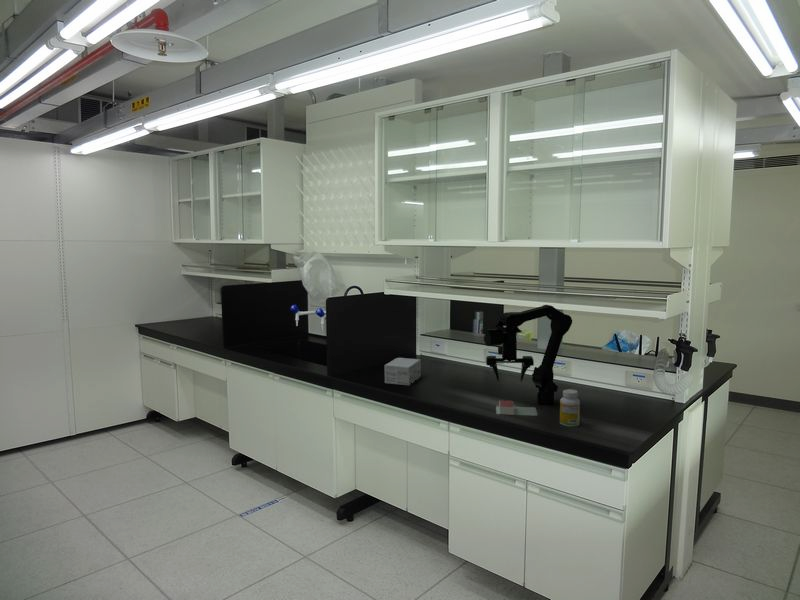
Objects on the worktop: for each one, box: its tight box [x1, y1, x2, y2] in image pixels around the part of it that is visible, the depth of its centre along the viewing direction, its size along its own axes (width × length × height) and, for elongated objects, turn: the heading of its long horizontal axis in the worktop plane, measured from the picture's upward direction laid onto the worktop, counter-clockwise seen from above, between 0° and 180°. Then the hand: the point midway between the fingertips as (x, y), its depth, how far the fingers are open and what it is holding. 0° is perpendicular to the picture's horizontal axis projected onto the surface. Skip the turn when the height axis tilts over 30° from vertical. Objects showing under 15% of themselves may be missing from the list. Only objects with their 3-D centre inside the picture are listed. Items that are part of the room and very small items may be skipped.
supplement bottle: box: [559, 388, 581, 427], centre depth 199 cm, size 7×7×13 cm
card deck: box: [498, 399, 515, 416], centre depth 214 cm, size 8×6×3 cm
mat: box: [495, 405, 538, 417], centre depth 215 cm, size 16×10×1 cm, turn 81°
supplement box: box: [383, 357, 422, 386], centre depth 265 cm, size 17×13×9 cm
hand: (509, 381), depth 217 cm, fingers open, 9 cm apart
